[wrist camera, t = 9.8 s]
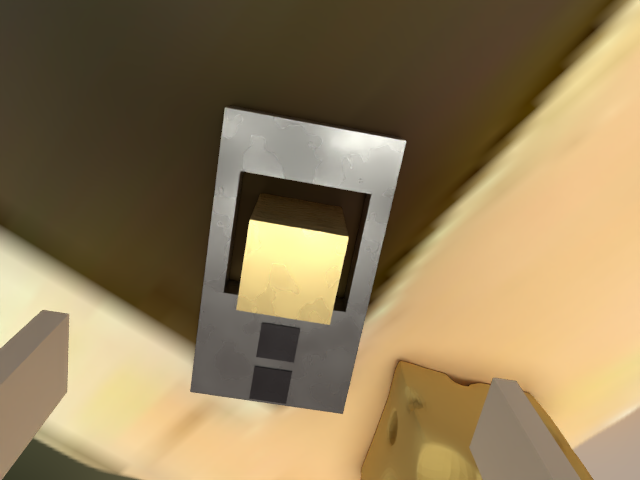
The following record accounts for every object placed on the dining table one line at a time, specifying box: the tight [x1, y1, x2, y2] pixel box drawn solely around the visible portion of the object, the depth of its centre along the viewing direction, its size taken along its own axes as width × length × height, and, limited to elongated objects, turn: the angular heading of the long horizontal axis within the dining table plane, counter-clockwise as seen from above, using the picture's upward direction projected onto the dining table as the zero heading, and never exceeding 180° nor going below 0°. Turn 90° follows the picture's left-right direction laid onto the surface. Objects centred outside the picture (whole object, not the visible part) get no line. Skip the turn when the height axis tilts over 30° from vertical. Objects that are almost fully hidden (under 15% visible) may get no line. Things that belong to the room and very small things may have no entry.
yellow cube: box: [236, 193, 349, 325], centre depth 29 cm, size 5×5×6 cm
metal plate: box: [190, 105, 406, 414], centre depth 31 cm, size 18×10×2 cm, turn 170°
